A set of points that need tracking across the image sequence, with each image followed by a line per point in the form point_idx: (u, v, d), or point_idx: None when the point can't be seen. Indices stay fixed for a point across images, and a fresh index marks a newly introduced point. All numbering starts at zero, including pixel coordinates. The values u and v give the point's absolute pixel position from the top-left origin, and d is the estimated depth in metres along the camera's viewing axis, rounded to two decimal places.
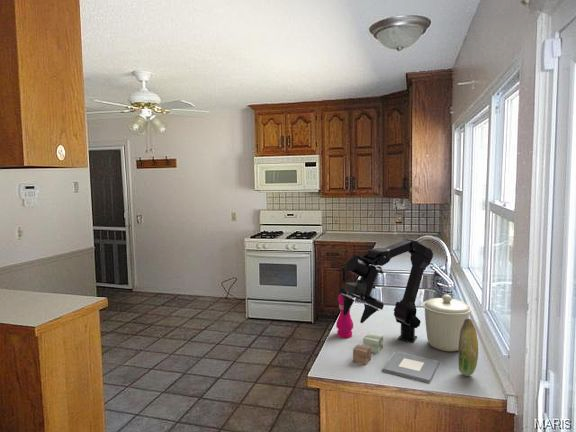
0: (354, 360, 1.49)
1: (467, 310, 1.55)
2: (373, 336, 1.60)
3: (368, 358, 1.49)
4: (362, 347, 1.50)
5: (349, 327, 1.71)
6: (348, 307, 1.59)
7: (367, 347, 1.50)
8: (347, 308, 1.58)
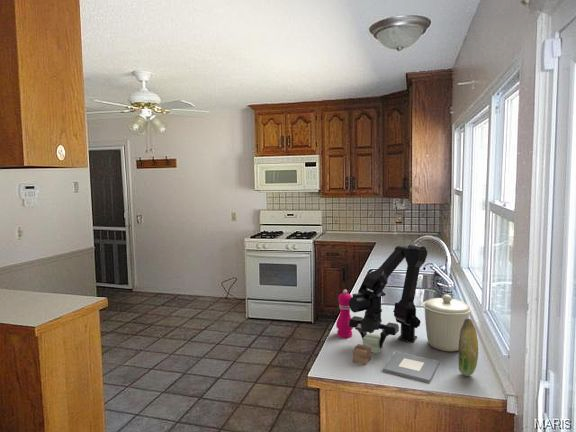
0: (354, 360, 1.49)
1: (467, 310, 1.55)
2: (373, 336, 1.60)
3: (368, 358, 1.49)
4: (362, 347, 1.50)
5: (349, 327, 1.71)
6: None
7: (367, 347, 1.50)
8: None
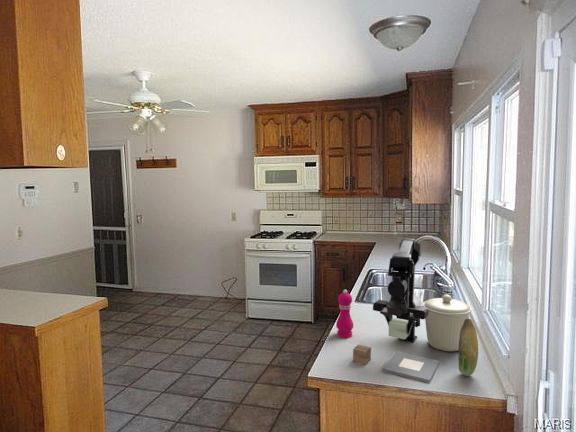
0: (354, 360, 1.49)
1: (467, 310, 1.55)
2: (400, 321, 1.48)
3: (368, 358, 1.49)
4: (362, 347, 1.50)
5: (349, 327, 1.71)
6: None
7: (367, 347, 1.50)
8: None
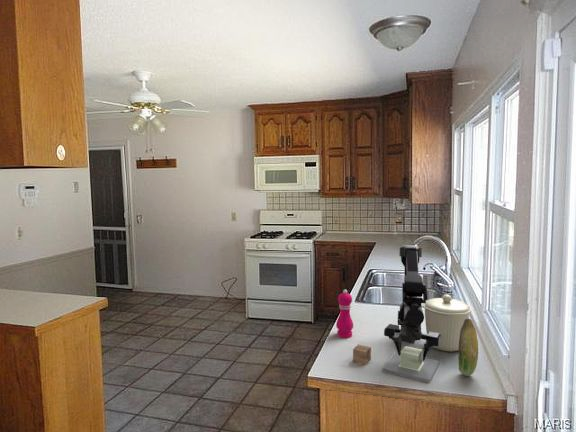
0: (354, 360, 1.49)
1: (467, 310, 1.55)
2: (412, 350, 1.45)
3: (368, 358, 1.49)
4: (362, 347, 1.50)
5: (349, 327, 1.71)
6: (400, 345, 1.47)
7: (367, 347, 1.50)
8: (400, 347, 1.47)
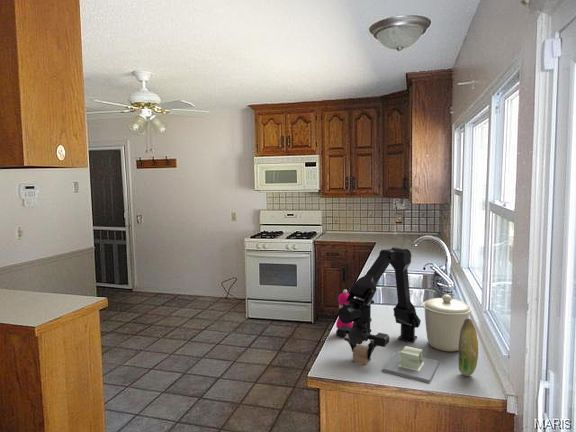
0: (354, 360, 1.49)
1: (467, 310, 1.55)
2: (412, 350, 1.45)
3: None
4: (362, 347, 1.50)
5: None
6: None
7: (367, 347, 1.50)
8: None
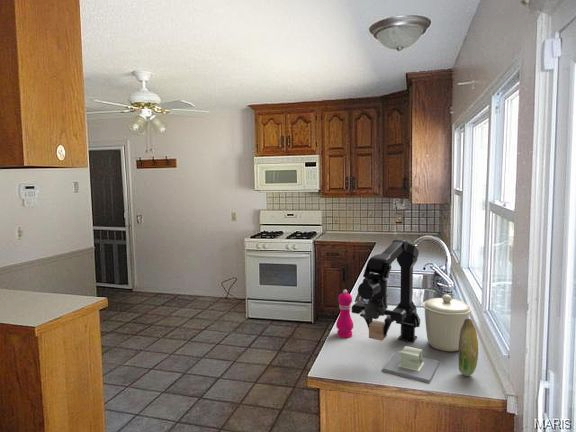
0: (370, 336, 1.47)
1: (467, 310, 1.55)
2: (412, 350, 1.45)
3: None
4: (378, 323, 1.47)
5: (349, 327, 1.71)
6: None
7: (383, 323, 1.48)
8: None
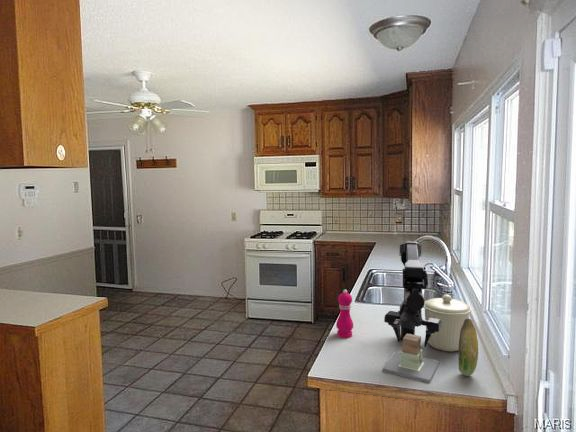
0: (404, 350, 1.43)
1: (467, 310, 1.55)
2: None
3: (419, 348, 1.43)
4: (412, 337, 1.44)
5: (349, 327, 1.71)
6: (399, 332, 1.47)
7: (417, 336, 1.44)
8: (399, 333, 1.47)
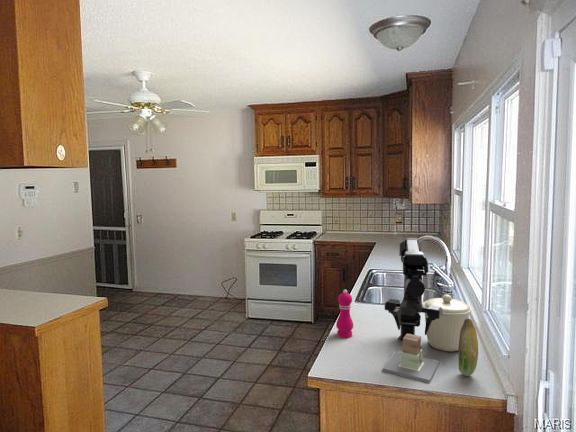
0: (404, 350, 1.43)
1: (467, 310, 1.55)
2: None
3: (419, 348, 1.43)
4: (412, 337, 1.44)
5: (349, 327, 1.71)
6: (399, 320, 1.46)
7: (417, 336, 1.44)
8: (399, 321, 1.46)
